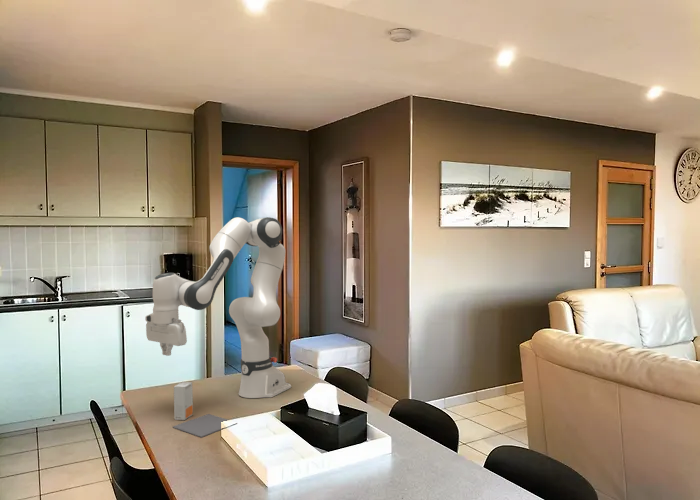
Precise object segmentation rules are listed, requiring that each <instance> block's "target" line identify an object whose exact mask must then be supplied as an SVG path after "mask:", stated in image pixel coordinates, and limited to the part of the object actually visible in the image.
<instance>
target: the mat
mask: <svg viewBox="0 0 700 500" xmlns="http://www.w3.org/2000/svg"><path fill="white" fill-rule="evenodd" d="M227 420H228V419H227V418H223V417H220V416H217V415H214V414H210V413H207V414H205V415H201V416H198V417H196V418H193V419H189V420H187V421H183V422H182V423H179V424H176V425H174V426H173V425H172V428H173V429H175V430H178V431H181V432H184V433H187V434H188V435H193V436H195V437H198V438H201V439H202V438H204V437H207V436H209V435H212V434H214V433H217V432H219V431H222V430H221V422H223V421H227Z"/></svg>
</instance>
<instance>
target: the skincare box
mask: <svg viewBox="0 0 700 500" xmlns="http://www.w3.org/2000/svg"><path fill="white" fill-rule="evenodd" d="M193 395H194V394H193V382H190V381H182V382H180V383H177V384H176V385H174V386H173V407H174V408H173V409H174V410H173V411H174V414H173V415H174V416H173V417H174V418H173V419H174V420H176V421H179V420H180V421H185V420H187V419H189V418H190V417H192V416H193V415H194V403H193Z"/></svg>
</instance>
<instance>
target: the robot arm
mask: <svg viewBox="0 0 700 500" xmlns="http://www.w3.org/2000/svg"><path fill="white" fill-rule="evenodd" d="M282 241H283V227H282V224H281V222H280V221H279V220H278V219H276V218H273V217H270V216H269V217H267V216H266V217H259V218H257V219H255V220H252V221H249V222H248V221H247V220H246V219H244V218H242V217H239V216H238V217H233V218H232V219H230V220H229V221H227V223H225V225H224V226H223V227H222V228H221V229H220V230H219V231H217V233H216V235H215V236H214V237H213V239H212V240H211V242H210V243H209V244H210V245H209V253H210V255H211V257H212V258H213V260H212V263H211V265H210V266H209V267H208V269H207V270H206V272H205V273H204V275H203V277H202V278H201V279H199V280H197V281H193V280H189V279H186V278H184V277H181V276H179V275H177V274H176V272H175V273H174V272H167V273H166V272H165V273H160V274H158V275H157V276H155V277H154V279H153V283H152V300H153V307H152V308H153V309H152V313H150V314H148V315H146V316H145V322H146V325H145V334H146V339H147V340H148V341H150V342H156V343H159V346H160V348H161V351H162V352H161V354H162V355H163V356H166V357H168V356H171V355H172V349H173V347H174V346H176V347H180V346H185V345H186V344H187V341H188V340H187V339H188V337H187V329H186V326H185V324H184V322H183V321H182V320H181V319H179V317H180V316H179V315H180V313H179V307H180V306H182V307H183V306H184V307H188V308H191V309H193V310H196V311H202V310H205V309H207V308H208V307H209V306H210V305H211V304H212V302H213V300H214V298H215V294H216V290H217V288H218V287H219V285H220V283H221V282H222V280H223V279H224V277H225V276H226V274H227V273H228V271H229V270H230V268H231V266H232V264H233V262H234V259H235V258H236V257H237V255H238V254H239V253H240V251H241V250H242V249H243V247H244V246H245V245H248V246H251V247H258V250H259V253H258V258H257V260H256V263H255V265H254V268H253V271H252V274H251V278H250V283H251V285H252V286H253V294H252V297H250V296H241V297H237V298H235V299H233V300H232V301H231V303H230V305H229V307H228V308H229V309H228V313H229V316H230V318H231V319H232V320H233V321H234V323H235V326H236V328H237V331H238V334H239V339H240V347H241V349H240V350H241V358H240V369H241V370H240V371H241V376H240V386H239V391H238V395H239V396H240V397H242V398H246V399H259V398H273V397H275V396H277V395H279V394H281V393H283V392H285V391H287V390H289V389H291V388H292V384H291V383H288V382H286V377H285V374H284V373H283V371H281V370H280V369H278V368H277V367H275V366H274V365H273V363H276V364H277V361H278V358H277V357H275V356H273V357H270V340H269V338H268V336H267V335H266V334H265V332H264V330H263V328H264V327H271V326H275V325H276V324H277V323H278V322H279V319H280V317H281V308H280V306H279V305H278V302H277V289H278V285H279V281H280V277H281V274H282V272H283V268H284V264H285V261H286V260H285V259H286V258H285V257H286V253H287V252H286V248H285V246H284V245H283V244H282Z"/></svg>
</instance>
